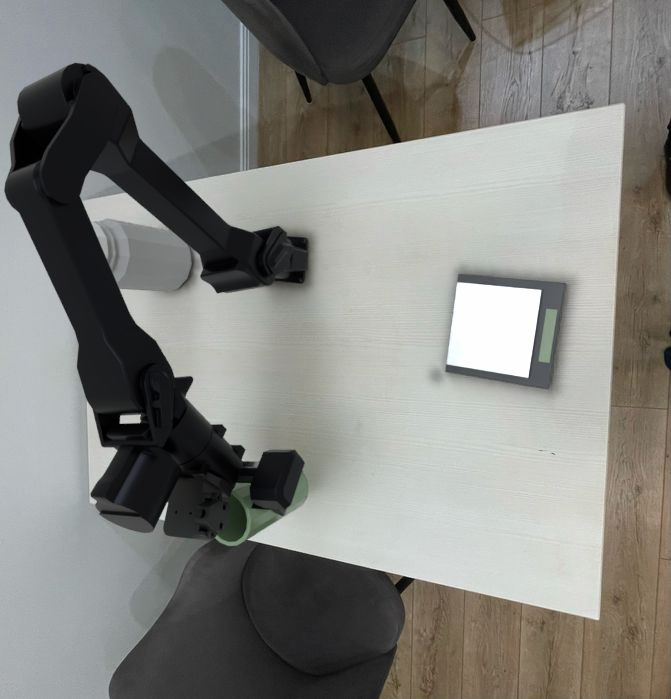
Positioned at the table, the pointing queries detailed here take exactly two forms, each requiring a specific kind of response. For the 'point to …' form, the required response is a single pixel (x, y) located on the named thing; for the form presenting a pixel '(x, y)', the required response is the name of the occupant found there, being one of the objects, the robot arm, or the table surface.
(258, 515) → the tumbler
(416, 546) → the table surface
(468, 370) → the scale
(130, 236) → the jar
